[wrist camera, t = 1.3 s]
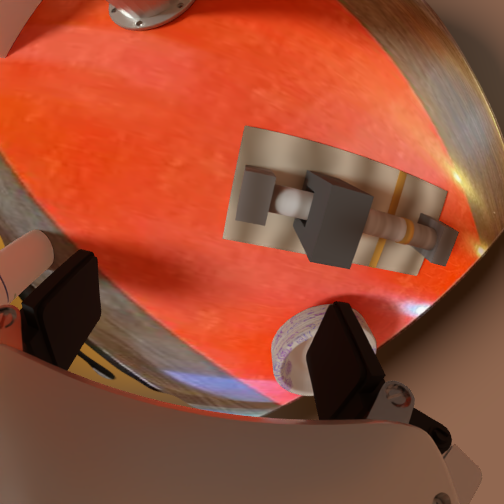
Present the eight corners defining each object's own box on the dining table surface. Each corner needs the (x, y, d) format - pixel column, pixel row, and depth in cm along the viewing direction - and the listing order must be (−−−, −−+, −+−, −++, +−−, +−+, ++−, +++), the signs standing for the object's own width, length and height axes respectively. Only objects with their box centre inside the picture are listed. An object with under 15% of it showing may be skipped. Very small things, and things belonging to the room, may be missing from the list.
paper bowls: (357, 353, 44) (371, 385, 37) (275, 369, 45) (278, 404, 38) (363, 282, 38) (384, 313, 31) (263, 300, 39) (266, 336, 32)
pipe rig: (223, 235, 35) (217, 259, 28) (245, 125, 29) (244, 122, 23) (413, 272, 38) (436, 295, 31) (443, 189, 32) (473, 202, 26)
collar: (292, 225, 33) (309, 261, 24) (306, 169, 30) (332, 184, 21) (323, 232, 33) (349, 269, 24) (338, 178, 30) (374, 196, 21)
